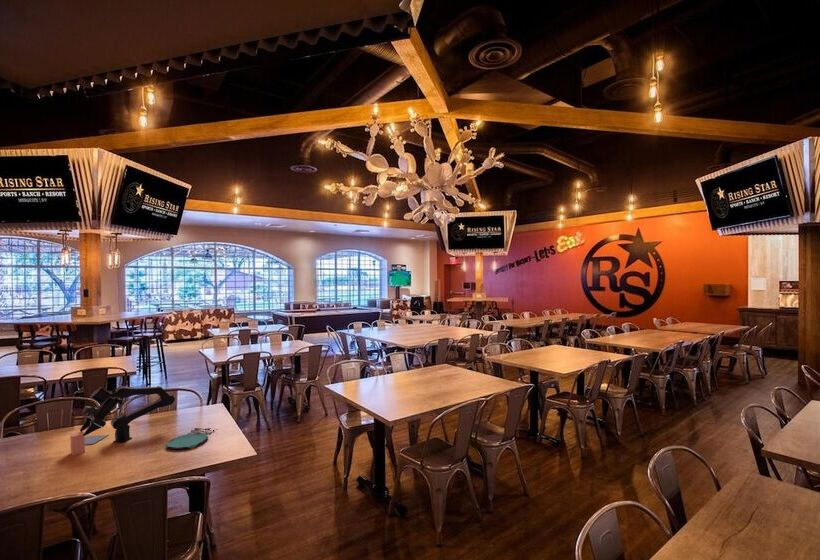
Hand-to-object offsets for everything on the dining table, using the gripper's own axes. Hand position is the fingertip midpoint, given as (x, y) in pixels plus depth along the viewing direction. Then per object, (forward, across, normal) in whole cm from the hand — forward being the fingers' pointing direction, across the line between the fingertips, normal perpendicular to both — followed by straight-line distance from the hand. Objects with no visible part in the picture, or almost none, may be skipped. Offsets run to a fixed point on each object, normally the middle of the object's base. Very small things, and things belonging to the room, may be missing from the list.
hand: (82, 433), depth 210 cm
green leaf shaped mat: (-24, +32, +38) cm, 55 cm away
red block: (+8, 0, +6) cm, 10 cm away
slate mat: (+3, -15, +11) cm, 19 cm away
